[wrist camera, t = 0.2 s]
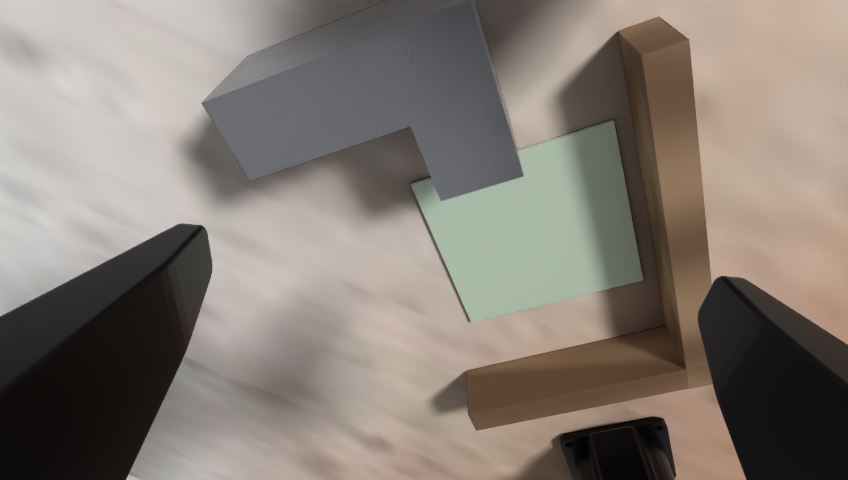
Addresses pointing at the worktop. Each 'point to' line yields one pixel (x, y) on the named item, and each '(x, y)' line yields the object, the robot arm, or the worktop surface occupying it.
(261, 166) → the bracket
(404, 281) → the worktop surface
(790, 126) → the worktop surface
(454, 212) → the pad
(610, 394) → the wooden corner frame
